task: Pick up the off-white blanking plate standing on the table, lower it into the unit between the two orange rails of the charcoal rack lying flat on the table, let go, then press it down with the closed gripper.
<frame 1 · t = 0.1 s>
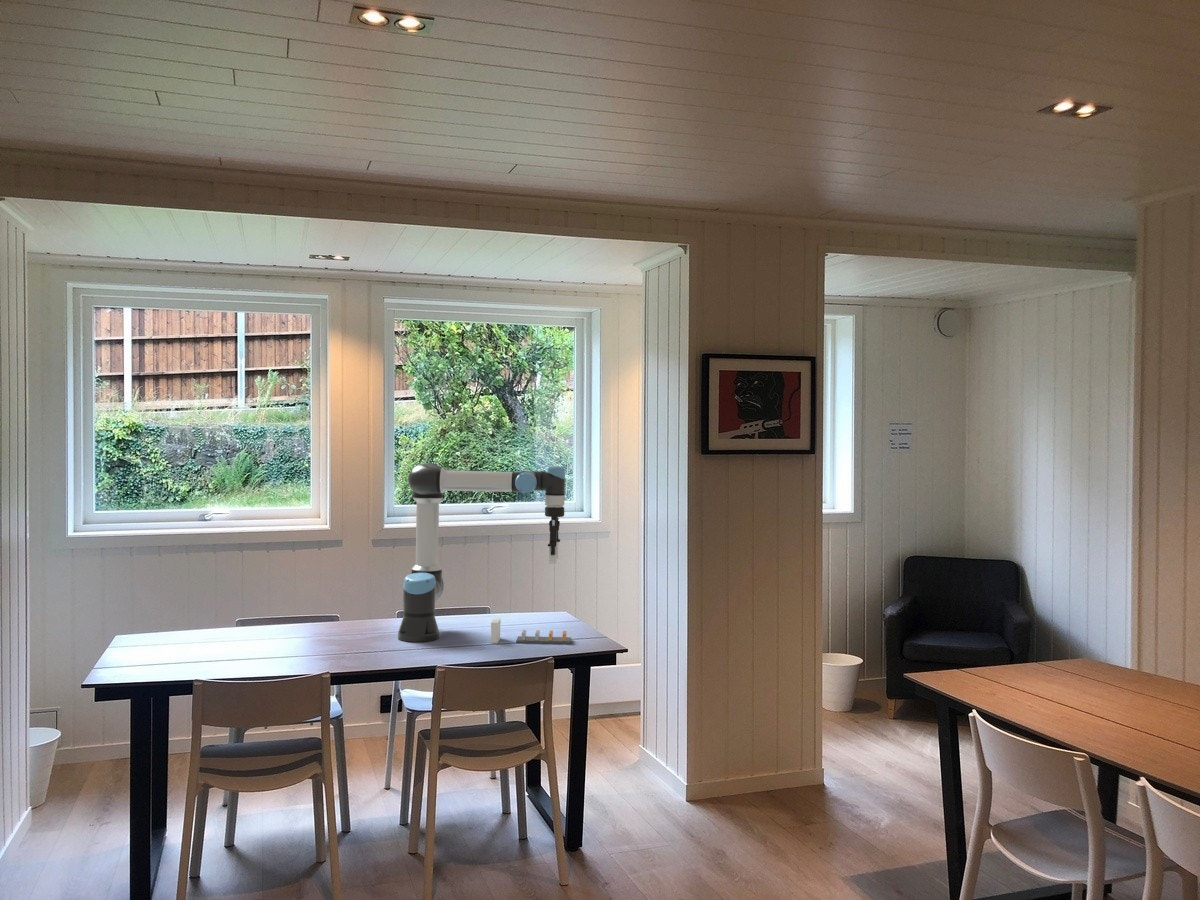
hand: (553, 561, 363), 28 cm above the table, fingers open, 13 cm apart
panel: (495, 640, 348), on the table
rack: (544, 641, 348), on the table
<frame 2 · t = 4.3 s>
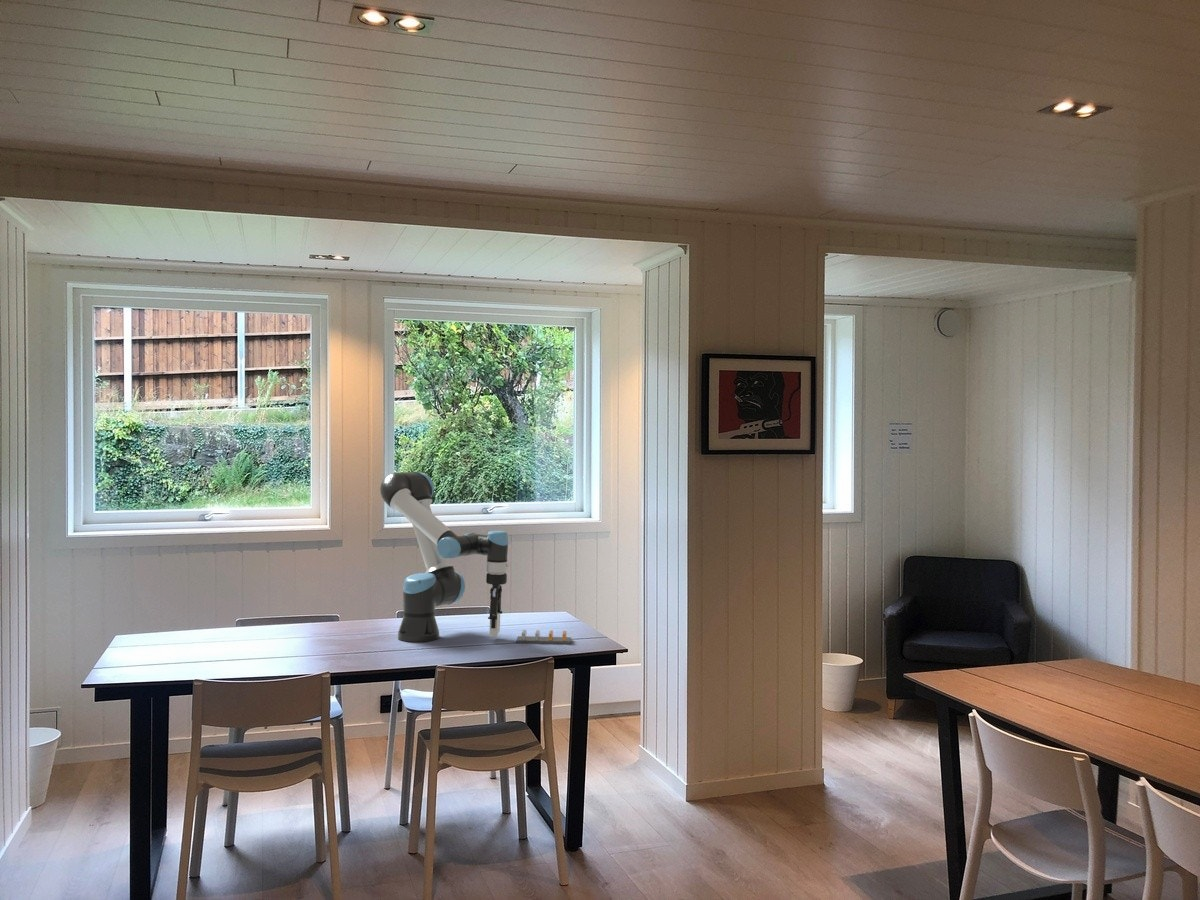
hand: (494, 633, 348), 2 cm above the table, fingers closed on panel, 8 cm apart
panel: (494, 634, 348), point 2 cm above the table, touching gripper
when the fingers open (2 cm above the table, at t = 9.3 s): panel stays where it is, resting on rack.
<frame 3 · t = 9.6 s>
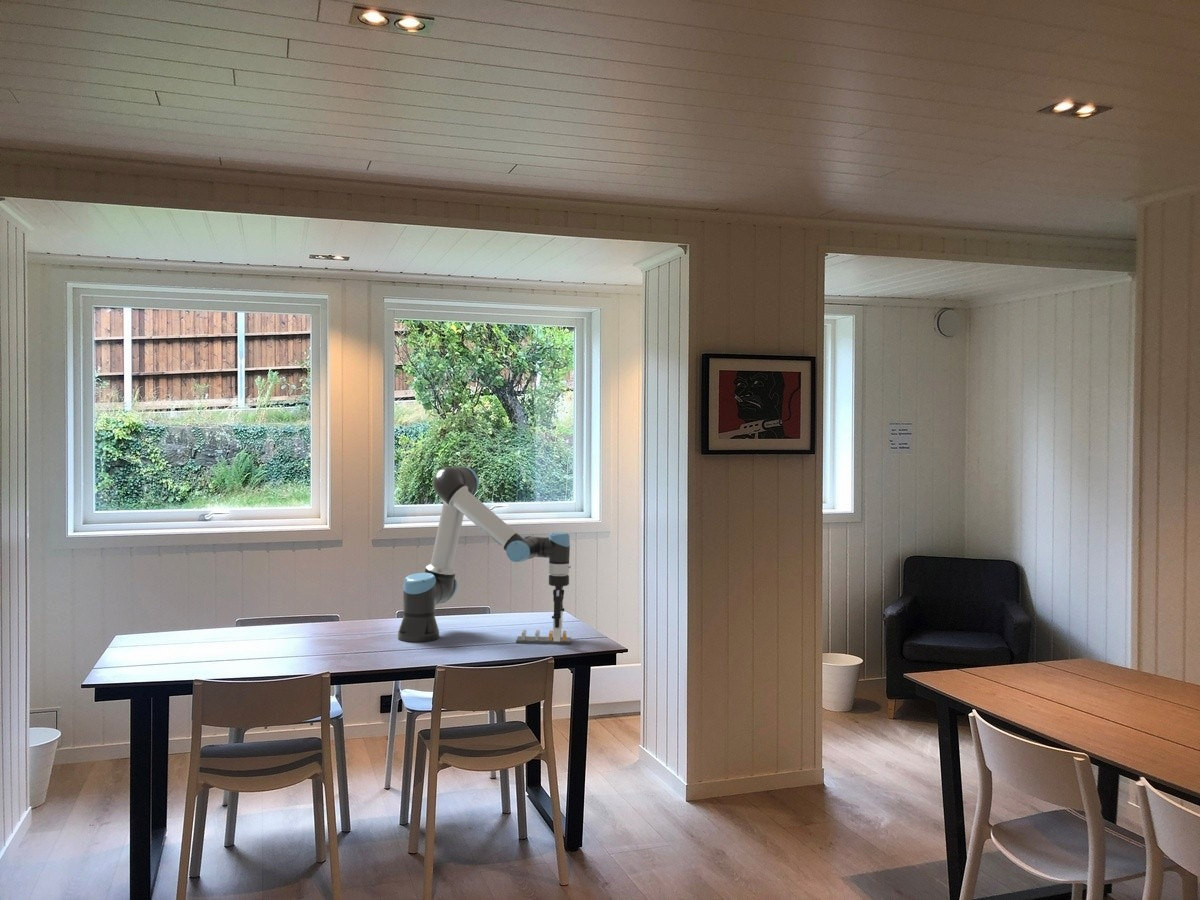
hand: (557, 632, 348), 3 cm above the table, fingers open, 12 cm apart
panel: (557, 639, 348), point 1 cm above the table, touching rack
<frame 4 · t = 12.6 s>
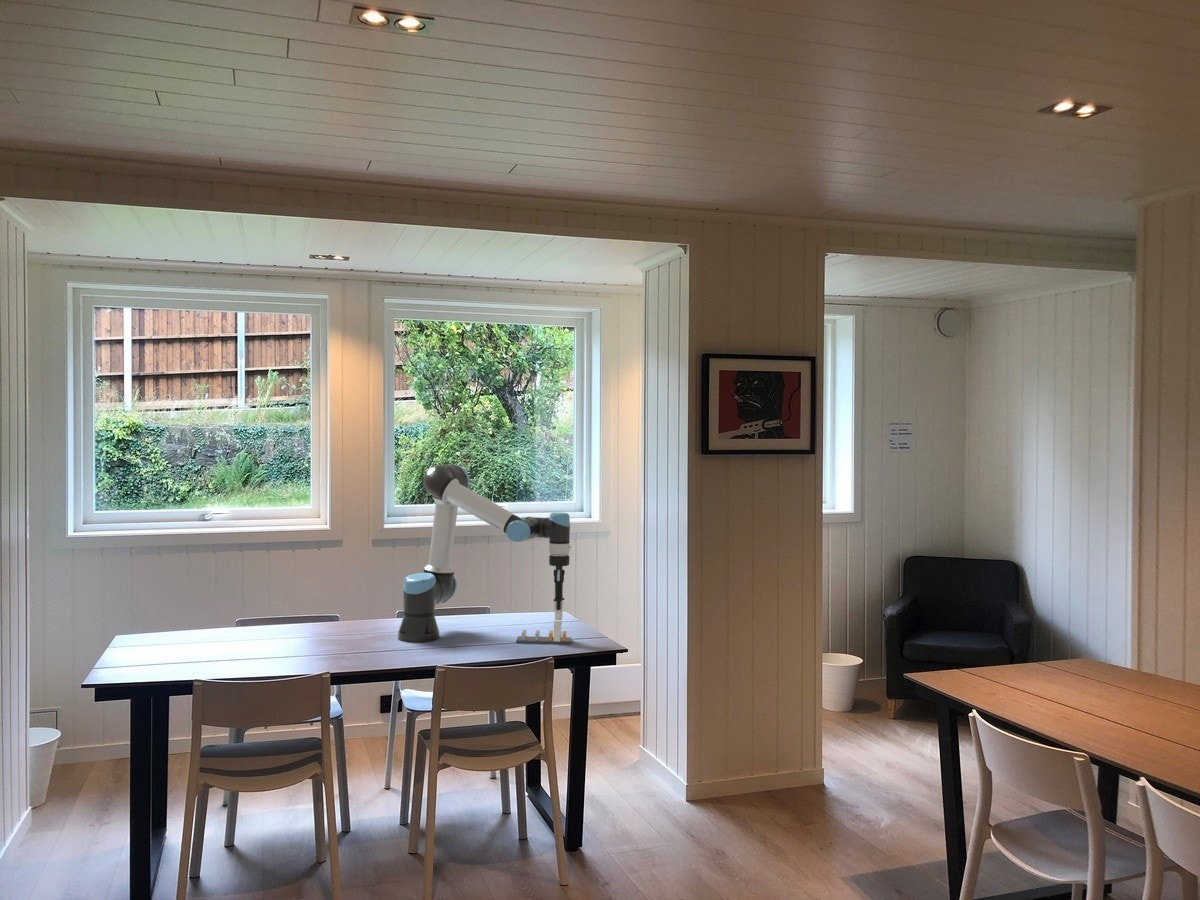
hand: (558, 618, 348), 9 cm above the table, fingers closed
panel: (557, 639, 348), point 1 cm above the table, touching gripper, rack
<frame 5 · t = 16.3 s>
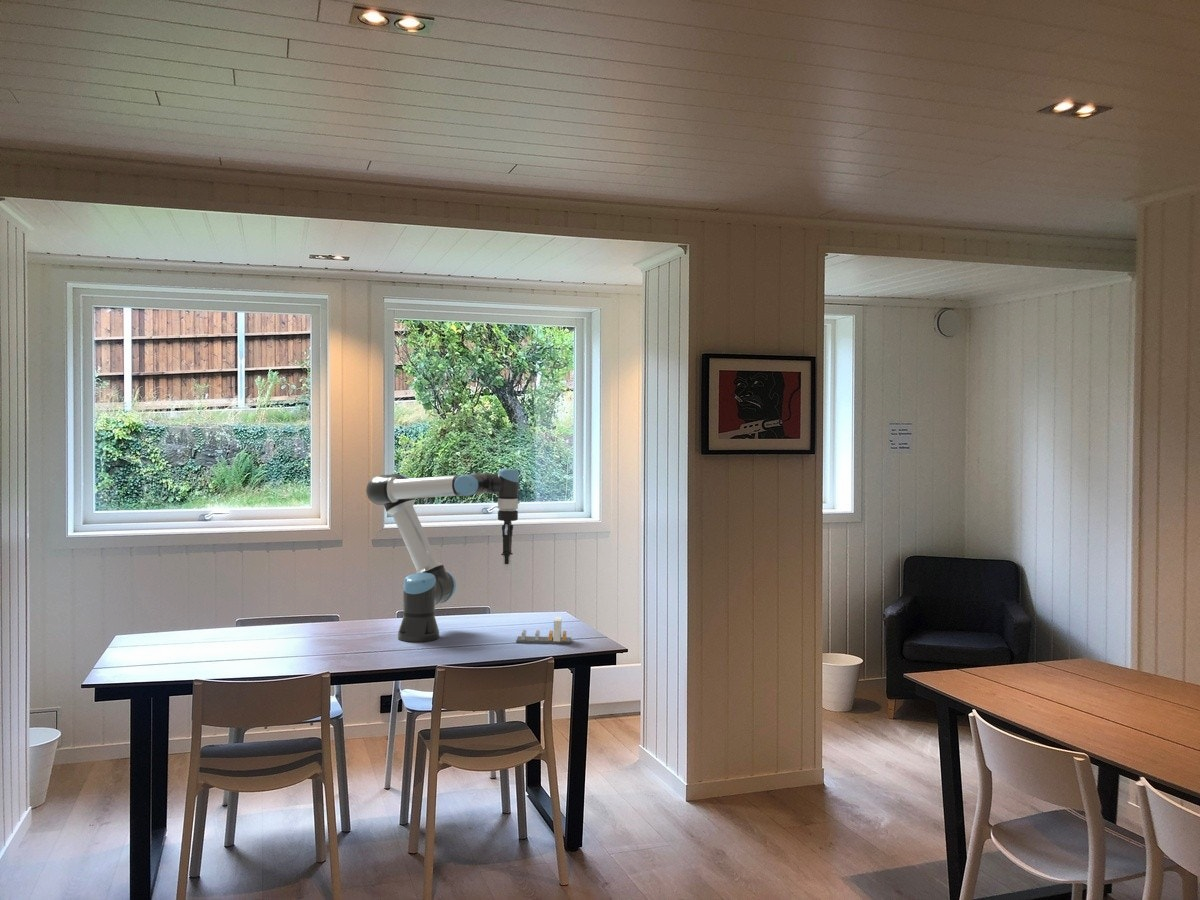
hand: (506, 572, 354), 24 cm above the table, fingers closed
panel: (557, 639, 348), point 1 cm above the table, touching rack
at the end: panel 0.1 cm from the target spot on the rack, point 1.0 cm above the rack's base; panel tilted 0°; the gripper is holding nothing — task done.
